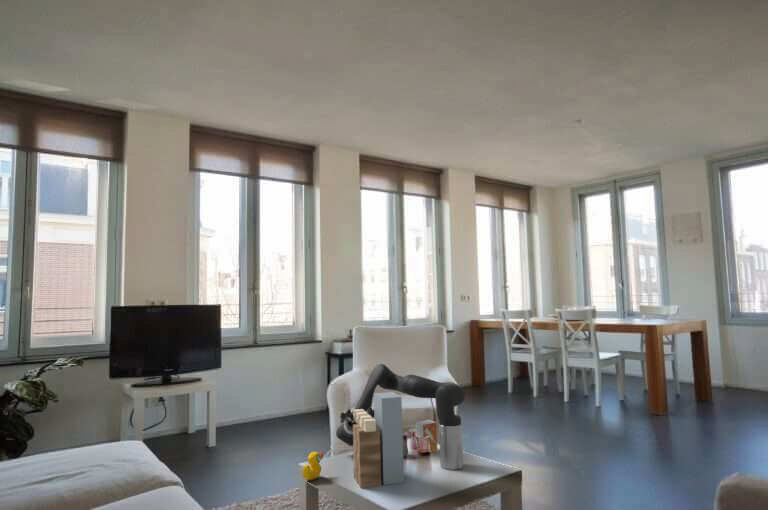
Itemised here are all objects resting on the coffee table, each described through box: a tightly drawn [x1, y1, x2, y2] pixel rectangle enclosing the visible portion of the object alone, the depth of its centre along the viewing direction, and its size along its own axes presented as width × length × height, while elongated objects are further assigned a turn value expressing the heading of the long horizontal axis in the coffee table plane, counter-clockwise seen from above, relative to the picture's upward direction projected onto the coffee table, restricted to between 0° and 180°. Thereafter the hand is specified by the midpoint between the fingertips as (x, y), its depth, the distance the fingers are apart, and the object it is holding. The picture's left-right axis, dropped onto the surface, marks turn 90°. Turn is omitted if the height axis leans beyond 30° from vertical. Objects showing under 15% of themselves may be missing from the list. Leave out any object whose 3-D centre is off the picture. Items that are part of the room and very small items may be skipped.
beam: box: [352, 409, 376, 432], centre depth 198 cm, size 22×4×4 cm, turn 15°
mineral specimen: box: [403, 438, 409, 457], centre depth 225 cm, size 7×9×8 cm
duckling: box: [302, 451, 324, 481], centre depth 198 cm, size 11×5×10 cm, turn 150°
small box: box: [414, 419, 438, 453], centre depth 231 cm, size 8×6×13 cm
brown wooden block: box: [352, 424, 382, 489], centre depth 194 cm, size 12×8×20 cm, turn 15°
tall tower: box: [373, 391, 405, 486], centre depth 197 cm, size 12×8×32 cm, turn 15°
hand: (360, 410), depth 204 cm, fingers open, 8 cm apart
